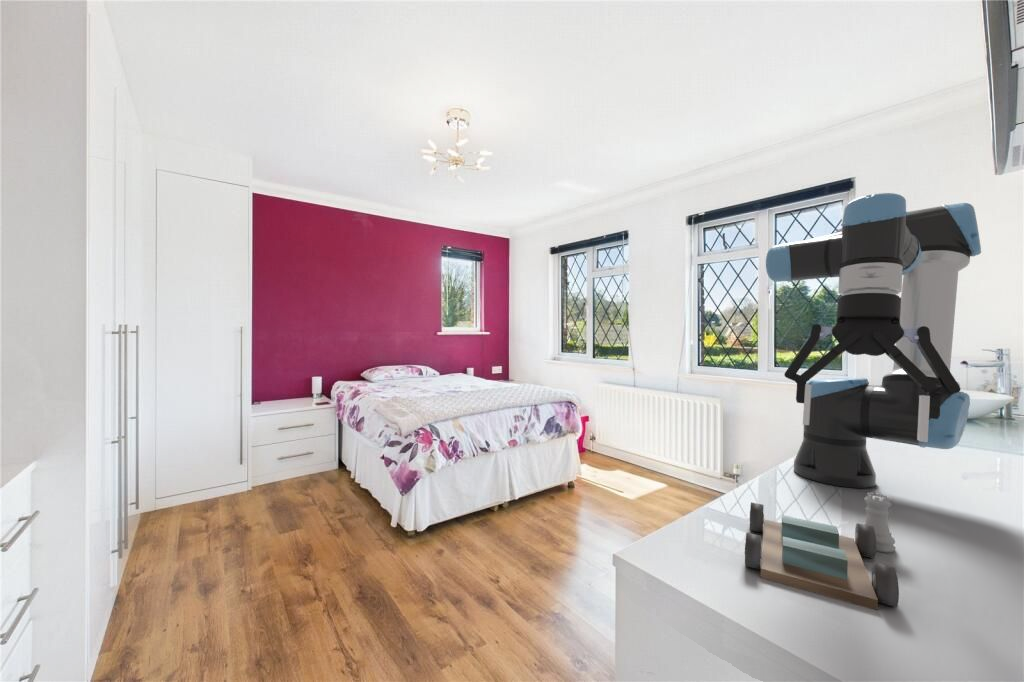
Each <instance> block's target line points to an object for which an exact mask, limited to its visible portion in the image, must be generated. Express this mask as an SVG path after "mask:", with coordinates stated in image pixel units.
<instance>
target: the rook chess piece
mask: <svg viewBox="0 0 1024 682" xmlns="http://www.w3.org/2000/svg"><path fill="white" fill-rule="evenodd" d="M863 500H864V501H865V503H866V504H867V507H865V511H866V518H865V524H864V525H867V526H872V527H874V530H875V535H876V552H880V553H886V554H887V553H889V554H890V553H893V552H894V551H896V548H897V547H896V546H894V545H895V544H896V540H895V538H894V537H893V536H892V533H891V532H890V529H889V528H890V527H889V522H888V521H889V520H888V518H889V517H888V516H890V512H889V511H888V510H889V508H890V507H891V506H892V503H891V502H890V501H889V497H888V496H887V495H885V494H883V495H882V496H881V493H877V492H876V495H874V492H867V493H866V496H865V497H864V498H863Z"/></svg>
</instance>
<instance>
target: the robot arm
mask: <svg viewBox="0 0 1024 682" xmlns="http://www.w3.org/2000/svg"><path fill="white" fill-rule="evenodd" d="M840 224H841V228H839V229H838V230H836V231H835V232H833V233H831V234H828V235H823V236H819V237H815V238H811V239H806V240H805V239H804V240H802V241H801V240H800V241H795V242H786V243H782V244H776V245H774V246H772V247H770V248H769V249H768V251H767V253H766V257H765V270H766V274H767V276H768V278H769V279H770V280H771V281H772V282H775V283H776V282H778V283H779V282H787V283H790V282H795V281H803V280H804V281H807V280H817V279H825V278H838V291H837V292H838V294H839V295H841V296H840V297H838V298H837V304H836V306H837V307H836V320H835V325H834V326H823V325H821V324H820V323H819V324H818V323H815V324H813V325H812V326H811V330H810V331H811V332H810V336H809V337H808V340H807V341H806V342H805V343H804V345H803V347H802V348H801V349H800V351H799V352H798V353H797V355H796V356H795V358H794V359H793V361H792V362H791V363H790V365H789V367H788V368H787V369H786V371H785V372H784V373H783V374H784V377H785V378H787V379H789V380H791V381H794V382H795V384H796V393H795V395H796V396H795V402H796V403H797V404H803V412H802V413H803V416H802V426H803V437H802V442H801V444H800V446H799V448H798V451H797V454H796V456H795V458H794V461H793V471H794V473H796V474H797V475H799V476H801V477H803V478H805V479H808V480H811V481H814V482H819V483H822V484H827V485H832V486H837V487H844V488H851V489H852V488H854V489H855V488H856V489H863V488H864V489H865V488H866V489H867V488H872V487H875V486H876V484H877V480H876V479H877V478H876V477H877V476H876V475H877V474H876V472H875V469H874V466H873V464H872V461H871V458H870V455H869V452H868V450H867V439H874V440H881V441H887V442H893V443H899V444H905V445H911V446H918V447H920V448H930V449H931V448H932V449H939V450H949V449H954V448H955V447H956V446H957V445H958V444H959V443H960V441H961V439H962V436H963V434H964V431H965V428H966V425H967V423H968V422H967V421H968V417H969V410H970V409H969V408H970V404H971V403H970V402H971V401H970V400H971V398H970V395H969V394H968V393H967V392H964V391H961V386H960V385H961V384H960V383H959V382H958V381H957V380H956V379H955V377H954V375H953V374H952V372H951V363H952V360H951V359H952V350H953V340H954V339H953V338H954V327H955V316H956V302H957V291H958V279H959V272H960V271H961V270H963V269H965V268H966V267H968V266H969V264H970V262H971V257H975V256H978V255H980V254H981V253H982V246H981V240H980V233H979V226H978V221H977V216H976V211H975V208H974V206H973V205H972V204H971V203H967V202H960V203H954V204H941V205H940V206H935V207H928V208H922V209H917V210H910V211H907V201H906V198H905V197H904V196H903V195H901V194H898V193H893V192H881V193H880V192H879V193H873V194H868V195H865V196H864V195H863V196H861V197H860V196H859V197H858V198H855V199H853V200H851V201H850V202H848V203H847V204H846V206H845V208H844V211H843V217H842V222H841V223H840ZM900 293H901V296H899V295H898V294H900ZM828 335H832V336H833V338H834V339H835V340H836V341H837V342H838V343H837V344H836V345H835V346H834V347H832V349H830V350H829V351H828V352H826V354H824V355H823V356H822V357H820V359H818V360H817V361H816V362H814V363H813V364H812V365H811V366H810V367H809V368H807V369H806V370H805V371H804V372H803V373H801V374H798V372H799V370H800V369H801V367H802V366H803V365H804V364H805V362H806V361H807V359H808V358H809V356H810V355H811V353H812V352H813V351H814V349H815V347H816V346H817V345H818V344H819V342H820V340H824V339H825V338H826V337H827V336H828ZM845 352H846V353H847V354H850V355H854V356H855V355H856V356H859V355H868V356H871V357H878V356H881V355H882V356H883V355H884V354H885V355H886V356H887V357H888V358H889V359H891V360H892V361H893V368H892V370H891V371H890V372H889V373H887V374H885V375H883V376H882V381H881V385H873V384H870V381H868V378H866V377H839V378H819V379H812V378H813V377H815V376H816V375H817V374H818V373H819V372H821V371H822V370H823V369H825V368H826V367H827V366H828V365H829V364H830V363H832V362H833V361H834V360H836V359H837V358H838V357H840V356H841V355H842V354H843V353H845ZM811 379H812V380H811Z"/></svg>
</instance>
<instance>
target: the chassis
mask: <svg viewBox="0 0 1024 682" xmlns="http://www.w3.org/2000/svg"><path fill="white" fill-rule="evenodd" d="M749 510H750V511H749V530H750V531H753V532H758V533H762V535H759V534H754V533H750V532H746V534H745V542H744V566H746V567H749V568H751V569H752V568H753V569H755V570H760V578H763V579H765V578H766V579H765V580H769V581H773V582H776V583H780V584H784V585H788V586H791V587H795V588H798V589H802V590H805V591H808V592H812V593H815V594H820V595H823V596H827V597H830V598H833V597H834V599H836V600H837V599H838V600H840V601H841V600H842V601H844V602H848V603H851V604H855V605H858V606H862V607H866V608H869V609H873V610H877V611H878V609H879V608H878V607H879V603H880V604H885V605H886V606H887V605H888V606H892V607H896V608H897V607H898V605H899V599H900V588H899V578H898V574H897V571H896V568H895V566H892V565H887V564H883V563H877V562H873V563H872V565H871V579H870V576H869V574H868V572H867V568H866V567H865V564H864V561H863V559H862V557H866V558H871V559H875V558H876V555H877V551H876V535H875V530H874V527H872V526H867V525H865V524H863V523H862V524H861V523H856V524H855V530H854V531H855V532H854V538H853V537H848V536H843V535H840V532H839V529H838V526H836V525H833V524H832V525H831V524H826V523H821V522H818V521H817V522H816V521H811V520H808V519H802V518H797V517H794V516H788V515H783V514H782V515H781V522H778V521H774V520H769V519H765V514H764V504H762V503H761V504H760V503H756V502H750V508H749Z"/></svg>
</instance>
